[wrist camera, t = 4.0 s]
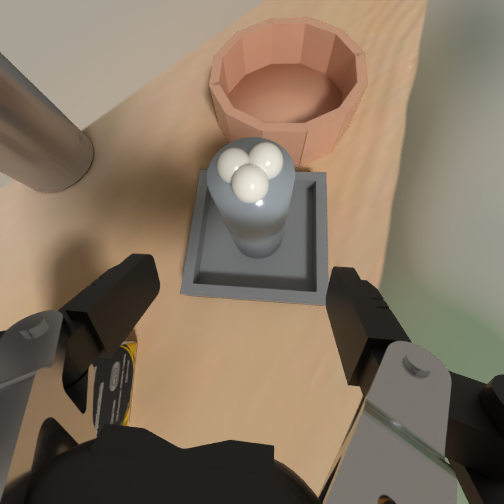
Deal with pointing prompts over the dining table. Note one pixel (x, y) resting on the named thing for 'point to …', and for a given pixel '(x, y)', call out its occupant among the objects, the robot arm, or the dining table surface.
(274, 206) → the pebble cup
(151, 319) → the dining table surface
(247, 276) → the parts tray
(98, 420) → the medicine bottle
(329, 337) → the dining table surface
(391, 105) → the dining table surface
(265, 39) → the bowl
